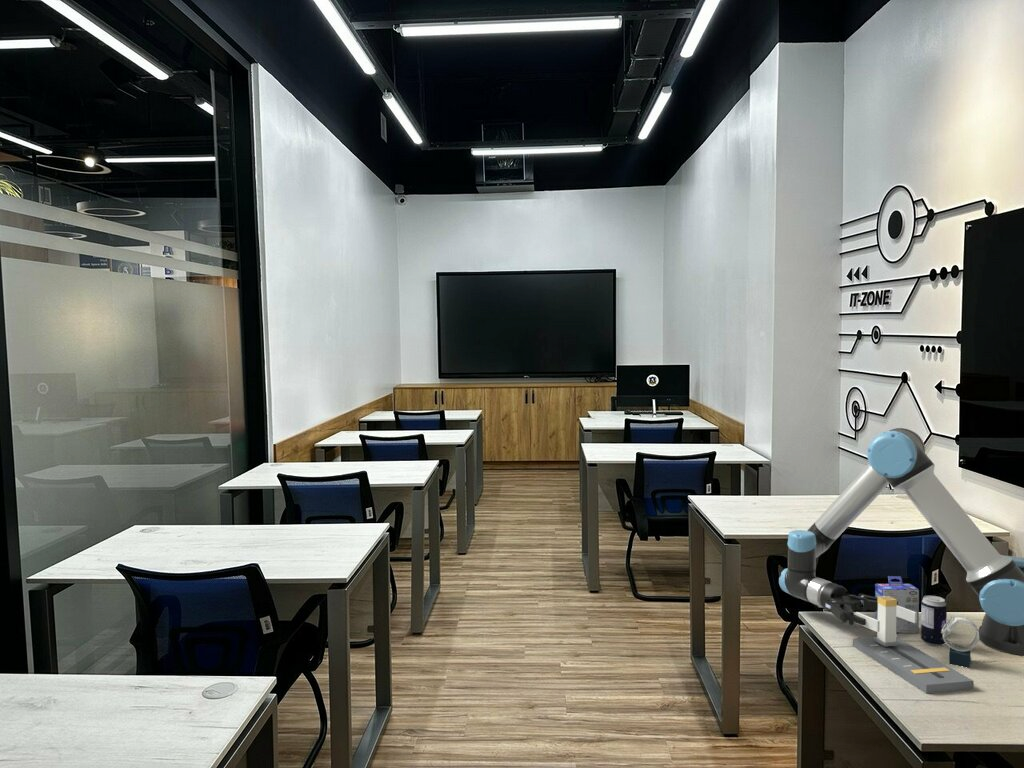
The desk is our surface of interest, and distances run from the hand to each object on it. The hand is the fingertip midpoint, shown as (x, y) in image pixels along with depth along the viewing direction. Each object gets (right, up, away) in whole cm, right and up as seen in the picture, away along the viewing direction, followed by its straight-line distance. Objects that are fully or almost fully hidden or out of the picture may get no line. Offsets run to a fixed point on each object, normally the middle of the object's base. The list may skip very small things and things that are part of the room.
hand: (897, 622), depth 174 cm
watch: (+14, -9, -3) cm, 17 cm away
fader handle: (-1, -6, +3) cm, 7 cm away
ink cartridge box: (+10, -8, +18) cm, 22 cm away
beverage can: (+14, -9, +9) cm, 19 cm away
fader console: (0, -9, -5) cm, 10 cm away
